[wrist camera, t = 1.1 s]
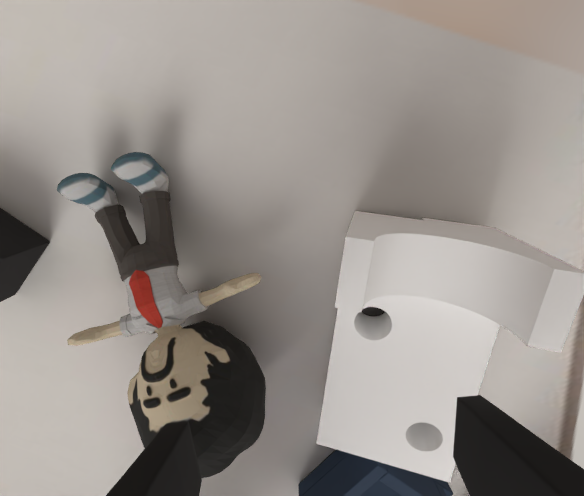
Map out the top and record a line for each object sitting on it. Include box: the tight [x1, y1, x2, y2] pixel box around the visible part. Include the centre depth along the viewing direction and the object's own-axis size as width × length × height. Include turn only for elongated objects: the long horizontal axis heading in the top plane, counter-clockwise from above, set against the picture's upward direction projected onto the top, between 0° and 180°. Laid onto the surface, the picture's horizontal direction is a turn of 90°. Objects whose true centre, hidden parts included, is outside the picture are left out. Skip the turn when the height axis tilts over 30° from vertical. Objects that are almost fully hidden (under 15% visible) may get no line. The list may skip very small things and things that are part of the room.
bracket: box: [316, 211, 584, 483], centre depth 15 cm, size 13×7×8 cm, turn 174°
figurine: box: [57, 152, 266, 478], centre depth 16 cm, size 10×7×15 cm
